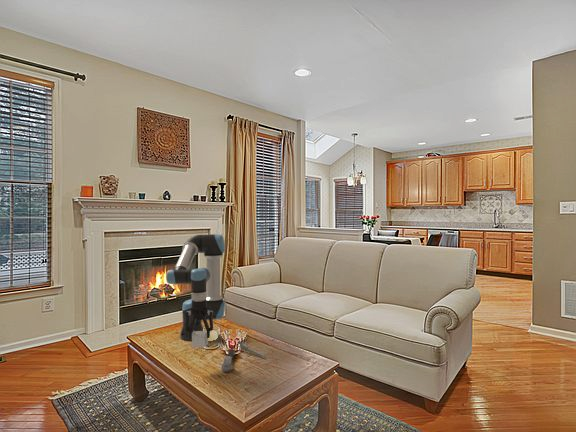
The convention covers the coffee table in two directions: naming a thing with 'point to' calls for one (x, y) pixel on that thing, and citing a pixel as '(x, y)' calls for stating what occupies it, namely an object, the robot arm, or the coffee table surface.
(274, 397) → the coffee table surface
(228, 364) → the ratchet
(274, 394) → the coffee table surface
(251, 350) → the caliper
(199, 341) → the socket
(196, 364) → the coffee table surface
